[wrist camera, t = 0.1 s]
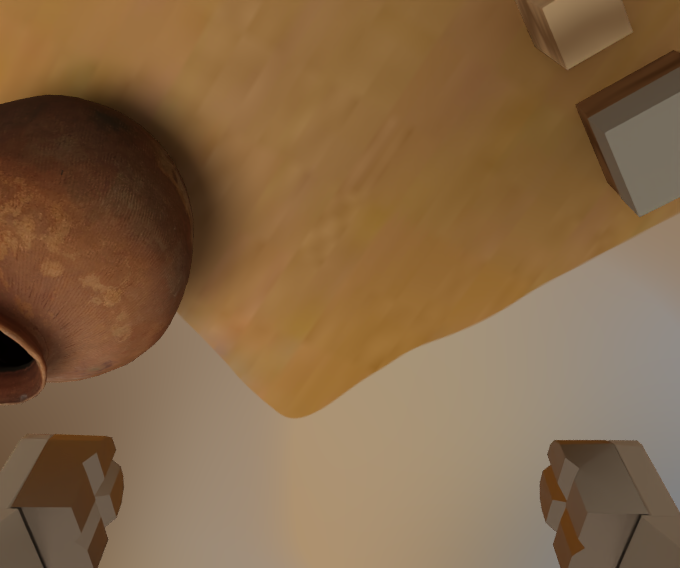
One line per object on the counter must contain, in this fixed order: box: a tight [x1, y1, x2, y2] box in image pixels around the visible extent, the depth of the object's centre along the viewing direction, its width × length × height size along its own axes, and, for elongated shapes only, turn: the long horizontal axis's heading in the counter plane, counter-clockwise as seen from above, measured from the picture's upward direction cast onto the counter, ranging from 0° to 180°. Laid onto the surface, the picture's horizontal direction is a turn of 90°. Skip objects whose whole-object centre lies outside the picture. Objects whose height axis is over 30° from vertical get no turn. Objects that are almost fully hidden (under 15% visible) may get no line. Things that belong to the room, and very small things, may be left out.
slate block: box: [588, 67, 680, 217], centre depth 51 cm, size 9×9×4 cm
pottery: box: [0, 95, 194, 406], centre depth 49 cm, size 23×23×25 cm
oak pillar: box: [515, 0, 633, 70], centre depth 47 cm, size 5×5×9 cm
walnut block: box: [576, 50, 680, 195], centre depth 55 cm, size 9×9×4 cm
